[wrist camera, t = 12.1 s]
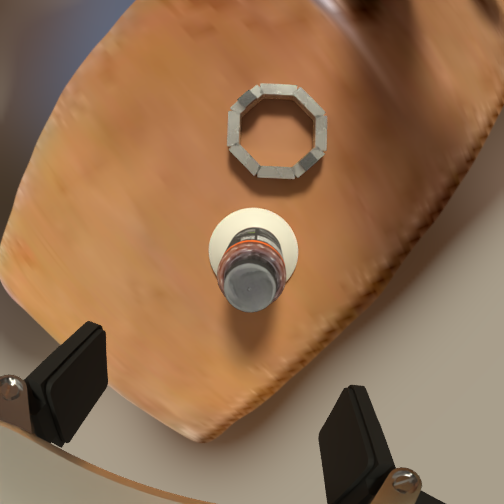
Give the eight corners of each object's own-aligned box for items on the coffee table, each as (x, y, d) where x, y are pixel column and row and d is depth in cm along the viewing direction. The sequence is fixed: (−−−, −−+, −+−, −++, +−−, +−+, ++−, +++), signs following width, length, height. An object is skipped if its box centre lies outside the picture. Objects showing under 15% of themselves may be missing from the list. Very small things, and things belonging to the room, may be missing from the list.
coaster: (255, 188, 32) (255, 189, 31) (315, 254, 33) (316, 255, 33) (192, 249, 34) (190, 250, 33) (251, 308, 35) (251, 310, 35)
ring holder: (278, 72, 28) (279, 64, 26) (341, 137, 30) (347, 134, 27) (211, 131, 31) (206, 127, 28) (274, 197, 32) (275, 198, 30)
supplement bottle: (251, 287, 34) (242, 337, 23) (217, 247, 33) (193, 282, 22) (293, 256, 33) (304, 296, 22) (259, 214, 32) (254, 234, 21)
